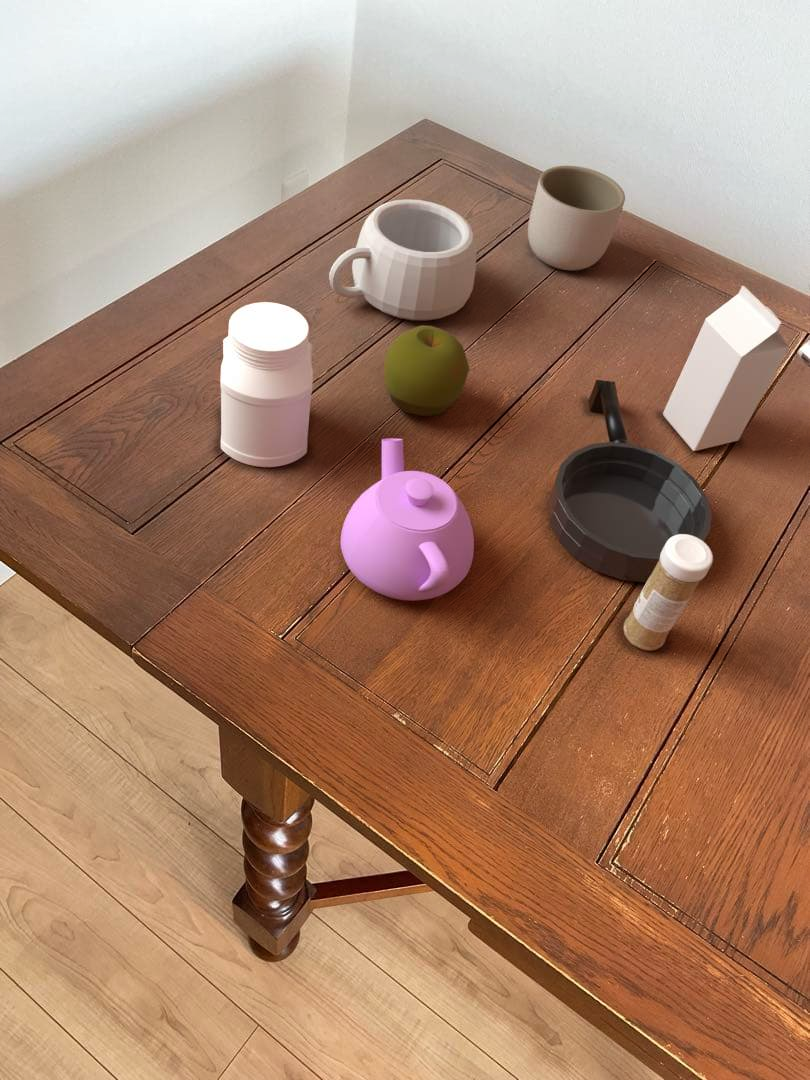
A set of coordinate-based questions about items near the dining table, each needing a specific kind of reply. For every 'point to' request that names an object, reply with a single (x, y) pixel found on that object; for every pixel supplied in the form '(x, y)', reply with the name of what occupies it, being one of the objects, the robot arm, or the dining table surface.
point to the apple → (425, 370)
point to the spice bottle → (667, 591)
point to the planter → (573, 216)
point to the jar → (266, 385)
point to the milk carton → (726, 372)
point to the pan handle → (608, 409)
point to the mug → (411, 261)
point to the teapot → (407, 533)
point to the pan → (624, 507)
